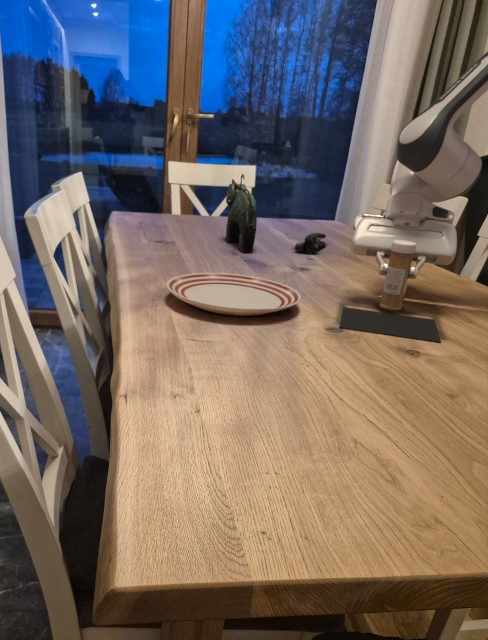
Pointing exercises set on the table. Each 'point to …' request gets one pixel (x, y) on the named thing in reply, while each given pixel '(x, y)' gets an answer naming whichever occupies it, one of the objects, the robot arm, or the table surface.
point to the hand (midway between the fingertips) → (397, 275)
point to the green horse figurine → (241, 216)
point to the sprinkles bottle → (397, 274)
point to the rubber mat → (389, 324)
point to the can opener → (311, 243)
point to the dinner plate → (232, 293)
